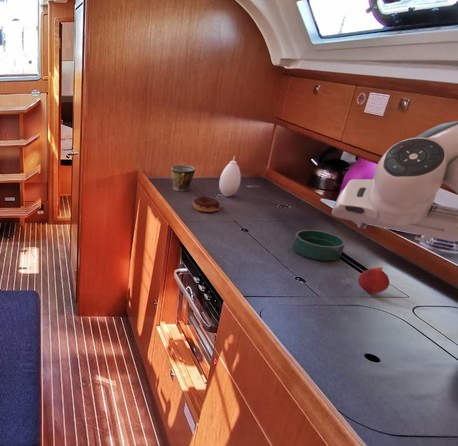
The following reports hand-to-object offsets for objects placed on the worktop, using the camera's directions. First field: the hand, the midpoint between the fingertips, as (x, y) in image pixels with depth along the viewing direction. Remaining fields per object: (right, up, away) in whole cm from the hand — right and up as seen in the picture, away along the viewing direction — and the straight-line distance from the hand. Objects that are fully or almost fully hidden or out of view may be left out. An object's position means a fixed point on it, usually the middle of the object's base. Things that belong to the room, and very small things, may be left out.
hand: (390, 231), depth 86 cm
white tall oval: (+11, +13, +85) cm, 87 cm away
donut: (-4, +7, +73) cm, 74 cm away
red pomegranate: (+10, -17, +16) cm, 26 cm away
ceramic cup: (-5, +17, +95) cm, 96 cm away
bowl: (+12, -7, +37) cm, 40 cm away
